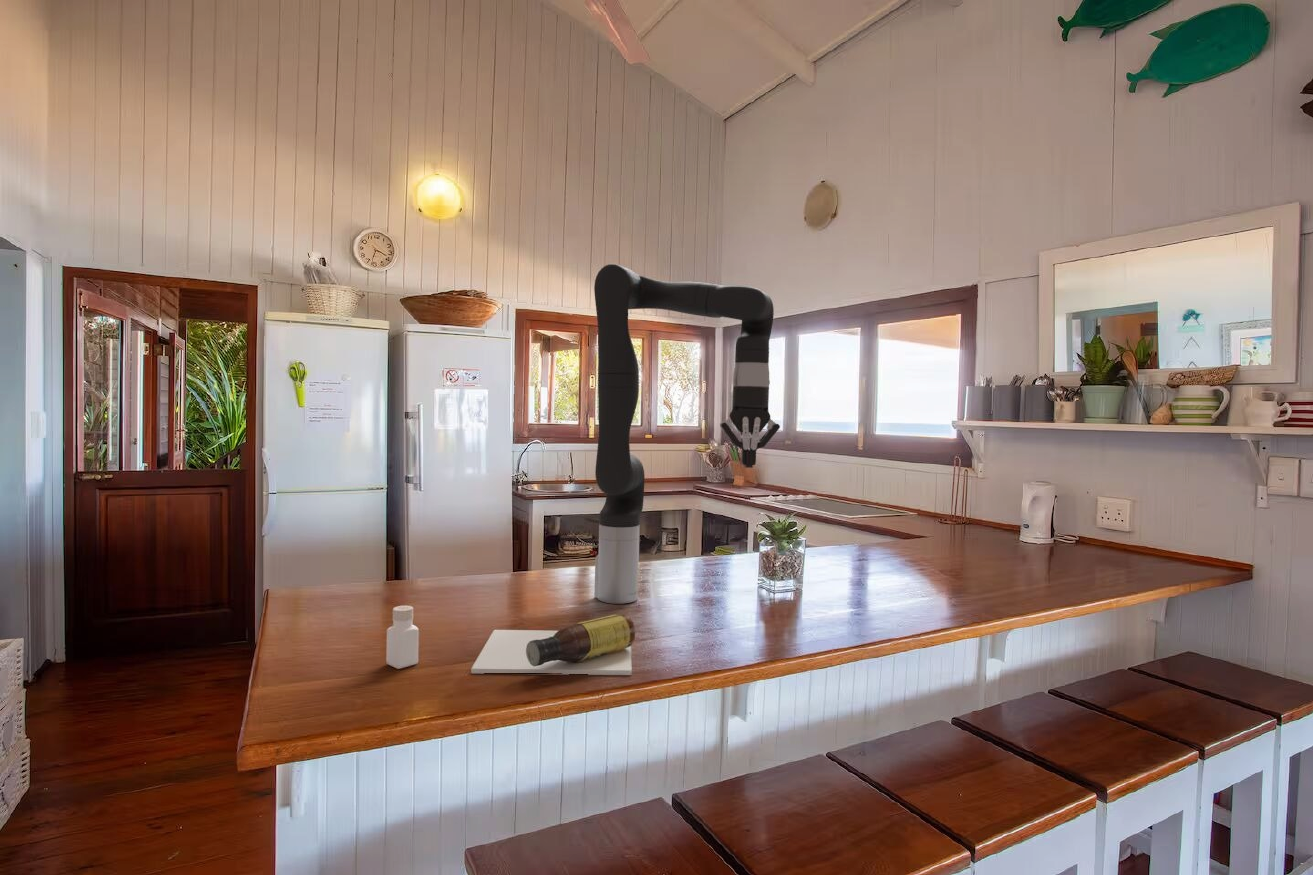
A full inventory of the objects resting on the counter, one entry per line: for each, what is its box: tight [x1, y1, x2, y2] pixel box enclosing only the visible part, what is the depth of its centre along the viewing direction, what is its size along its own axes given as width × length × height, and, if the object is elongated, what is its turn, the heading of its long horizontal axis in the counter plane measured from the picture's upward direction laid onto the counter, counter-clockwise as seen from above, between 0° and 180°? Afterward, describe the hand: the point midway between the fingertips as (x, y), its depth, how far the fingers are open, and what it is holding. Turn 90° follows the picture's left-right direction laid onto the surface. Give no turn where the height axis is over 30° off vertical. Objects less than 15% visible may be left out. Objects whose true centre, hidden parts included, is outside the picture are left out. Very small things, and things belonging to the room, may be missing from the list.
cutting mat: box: [470, 629, 633, 676], centre depth 125 cm, size 26×20×1 cm
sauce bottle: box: [526, 613, 636, 666], centre depth 120 cm, size 6×6×20 cm
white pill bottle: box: [385, 605, 420, 670], centre depth 117 cm, size 4×4×10 cm
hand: (748, 467), depth 149 cm, fingers closed
